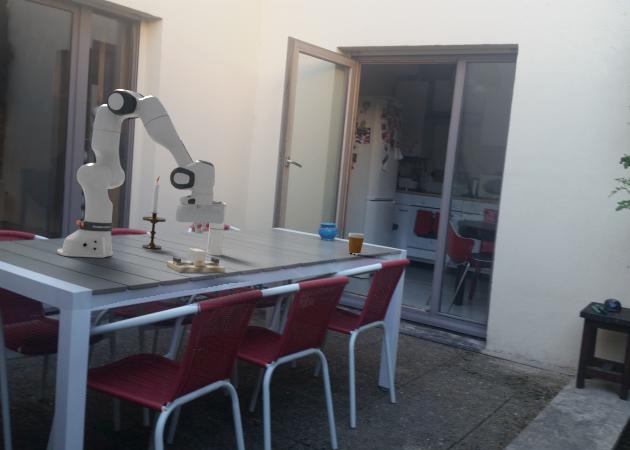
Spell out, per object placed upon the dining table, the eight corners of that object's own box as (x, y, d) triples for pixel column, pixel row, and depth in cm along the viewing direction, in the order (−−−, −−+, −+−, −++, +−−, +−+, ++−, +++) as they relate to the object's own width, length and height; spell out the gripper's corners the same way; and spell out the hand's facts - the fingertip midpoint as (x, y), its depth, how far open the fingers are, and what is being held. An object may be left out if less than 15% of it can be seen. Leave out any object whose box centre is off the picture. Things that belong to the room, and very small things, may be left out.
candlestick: (166, 247, 321) (172, 176, 317) (158, 250, 310) (165, 176, 307) (144, 245, 322) (150, 174, 318) (136, 247, 311) (142, 174, 308)
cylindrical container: (210, 255, 313) (215, 203, 311) (204, 252, 319) (209, 201, 316) (224, 255, 317) (229, 204, 315) (217, 252, 323) (222, 202, 321)
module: (194, 265, 267) (196, 251, 267) (187, 262, 274) (188, 248, 273) (204, 265, 270) (206, 251, 269) (197, 262, 276) (198, 248, 276)
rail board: (179, 272, 261) (180, 260, 260) (166, 265, 272) (167, 254, 272) (224, 272, 272) (225, 261, 272) (210, 265, 283) (211, 255, 283)
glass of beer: (361, 256, 368) (364, 235, 366) (344, 254, 369) (347, 233, 368) (363, 254, 377) (366, 233, 376) (347, 252, 379) (349, 231, 378)
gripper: (221, 200, 278) (218, 233, 279) (175, 198, 266) (172, 231, 268) (228, 202, 273) (225, 235, 274) (181, 199, 261) (178, 233, 263)
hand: (198, 233), depth 271 cm, fingers closed
